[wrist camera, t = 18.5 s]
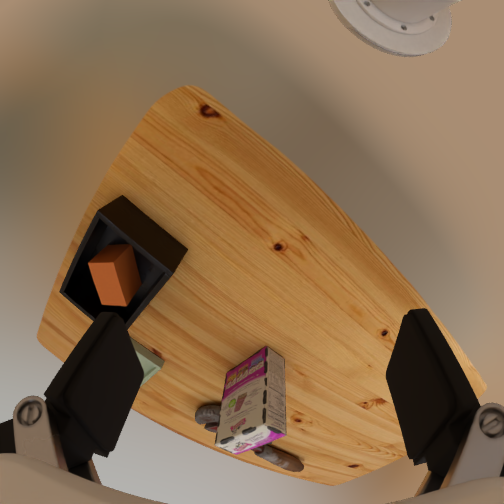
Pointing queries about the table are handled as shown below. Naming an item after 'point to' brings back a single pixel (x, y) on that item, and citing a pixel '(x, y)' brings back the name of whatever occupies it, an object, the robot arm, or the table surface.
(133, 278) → the orange brown rectangular block
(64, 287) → the dark open storage bin
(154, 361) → the shallow green tray
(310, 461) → the table surface
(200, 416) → the pipe wrench
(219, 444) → the candy bar box
